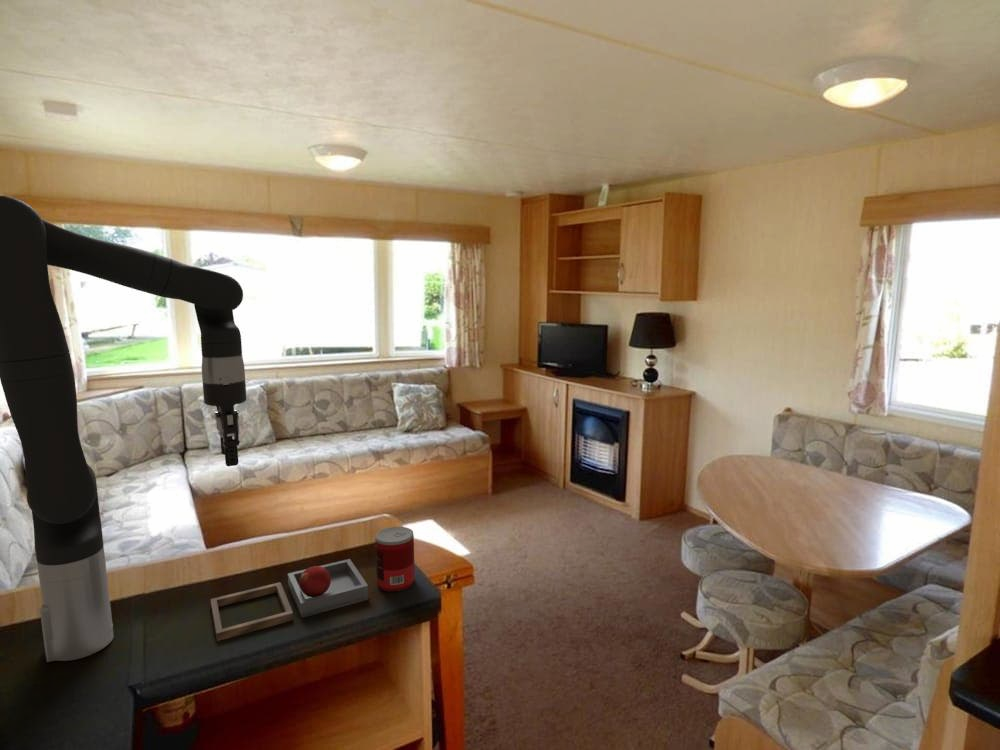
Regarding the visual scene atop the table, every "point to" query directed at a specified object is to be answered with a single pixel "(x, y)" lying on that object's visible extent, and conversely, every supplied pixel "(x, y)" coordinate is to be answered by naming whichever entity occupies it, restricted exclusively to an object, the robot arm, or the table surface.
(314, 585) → the onion
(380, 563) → the canned food
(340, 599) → the bin
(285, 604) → the square frame
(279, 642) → the table surface
